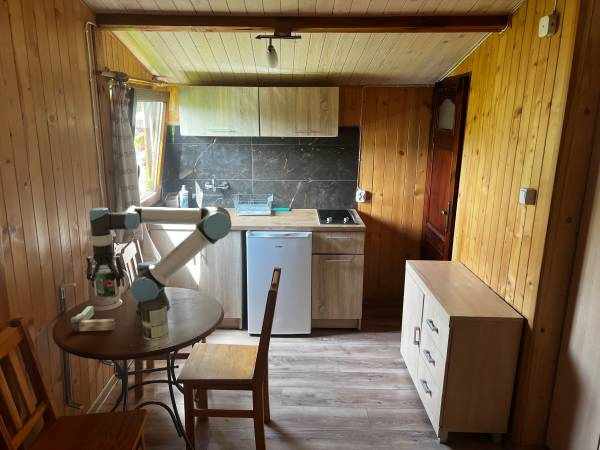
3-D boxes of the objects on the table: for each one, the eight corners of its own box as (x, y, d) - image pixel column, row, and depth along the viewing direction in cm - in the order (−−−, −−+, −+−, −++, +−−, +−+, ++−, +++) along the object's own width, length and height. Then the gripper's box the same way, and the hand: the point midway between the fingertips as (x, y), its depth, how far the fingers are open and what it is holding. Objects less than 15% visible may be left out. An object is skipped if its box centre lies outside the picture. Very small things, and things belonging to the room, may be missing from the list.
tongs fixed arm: (72, 331, 186) (70, 323, 185) (75, 328, 189) (74, 319, 188) (113, 330, 187) (112, 321, 186) (115, 327, 190) (114, 318, 189)
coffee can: (139, 340, 178) (136, 308, 175) (148, 328, 188) (146, 298, 185) (164, 340, 178) (161, 308, 175) (172, 329, 188) (169, 298, 185)
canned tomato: (101, 291, 195) (99, 267, 192) (119, 290, 195) (117, 267, 193) (94, 298, 187) (92, 273, 185) (113, 297, 188) (111, 273, 185)
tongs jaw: (80, 331, 186) (78, 320, 184) (70, 331, 185) (69, 320, 184) (95, 314, 203) (94, 303, 202) (86, 314, 202) (85, 303, 201)
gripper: (129, 241, 191) (134, 290, 196) (80, 242, 189) (86, 291, 194) (124, 245, 183) (128, 296, 188) (73, 246, 182) (79, 297, 187)
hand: (107, 293), depth 191 cm, fingers closed on canned tomato, 8 cm apart
